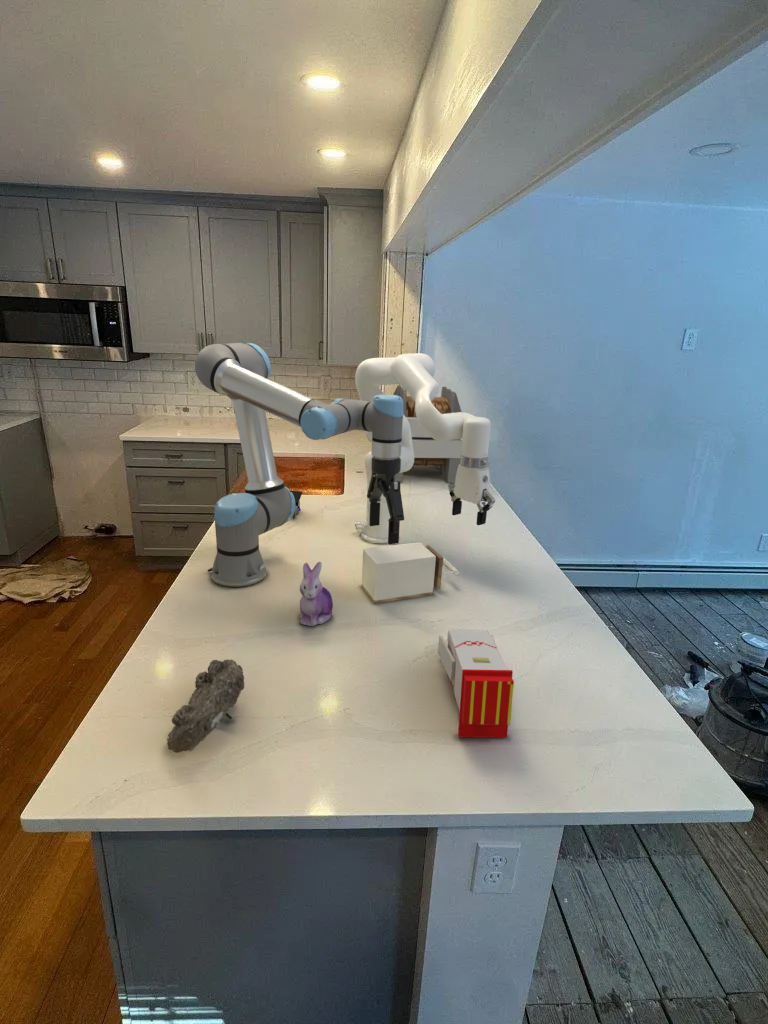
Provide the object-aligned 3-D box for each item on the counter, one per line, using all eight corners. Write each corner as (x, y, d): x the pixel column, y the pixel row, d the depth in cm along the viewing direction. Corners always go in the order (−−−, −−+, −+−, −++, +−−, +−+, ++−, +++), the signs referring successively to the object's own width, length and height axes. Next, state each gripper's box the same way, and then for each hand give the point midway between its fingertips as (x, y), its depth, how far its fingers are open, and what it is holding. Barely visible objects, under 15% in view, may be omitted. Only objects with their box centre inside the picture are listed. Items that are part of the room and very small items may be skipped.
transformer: (382, 463, 289) (386, 382, 275) (445, 464, 293) (451, 384, 279) (390, 482, 257) (394, 392, 243) (460, 483, 261) (468, 394, 247)
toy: (488, 613, 130) (523, 677, 101) (484, 667, 133) (517, 744, 104) (435, 612, 130) (455, 676, 101) (432, 666, 133) (451, 743, 103)
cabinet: (417, 578, 167) (419, 542, 164) (432, 594, 158) (436, 556, 154) (361, 586, 161) (362, 548, 157) (374, 603, 152) (376, 564, 148)
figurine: (305, 631, 137) (304, 575, 132) (291, 611, 146) (290, 558, 141) (340, 623, 142) (342, 569, 137) (325, 604, 150) (326, 552, 145)
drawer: (443, 572, 170) (445, 542, 166) (458, 586, 162) (461, 555, 158) (375, 582, 162) (376, 551, 158) (387, 597, 154) (389, 564, 150)
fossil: (192, 660, 117) (244, 628, 112) (224, 691, 120) (276, 661, 115) (142, 746, 98) (202, 712, 93) (182, 779, 101) (242, 748, 96)
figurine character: (298, 524, 207) (303, 507, 221) (298, 506, 204) (302, 489, 217) (280, 524, 207) (285, 506, 220) (279, 505, 204) (285, 488, 217)
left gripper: (420, 468, 135) (415, 550, 142) (382, 445, 157) (379, 517, 164) (391, 470, 132) (388, 553, 140) (356, 446, 154) (355, 519, 161)
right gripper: (506, 466, 154) (500, 525, 160) (460, 453, 167) (456, 508, 173) (488, 470, 150) (481, 531, 155) (442, 456, 162) (438, 513, 168)
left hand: (383, 534), depth 152 cm, fingers open, 13 cm apart
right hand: (468, 519), depth 164 cm, fingers open, 9 cm apart
